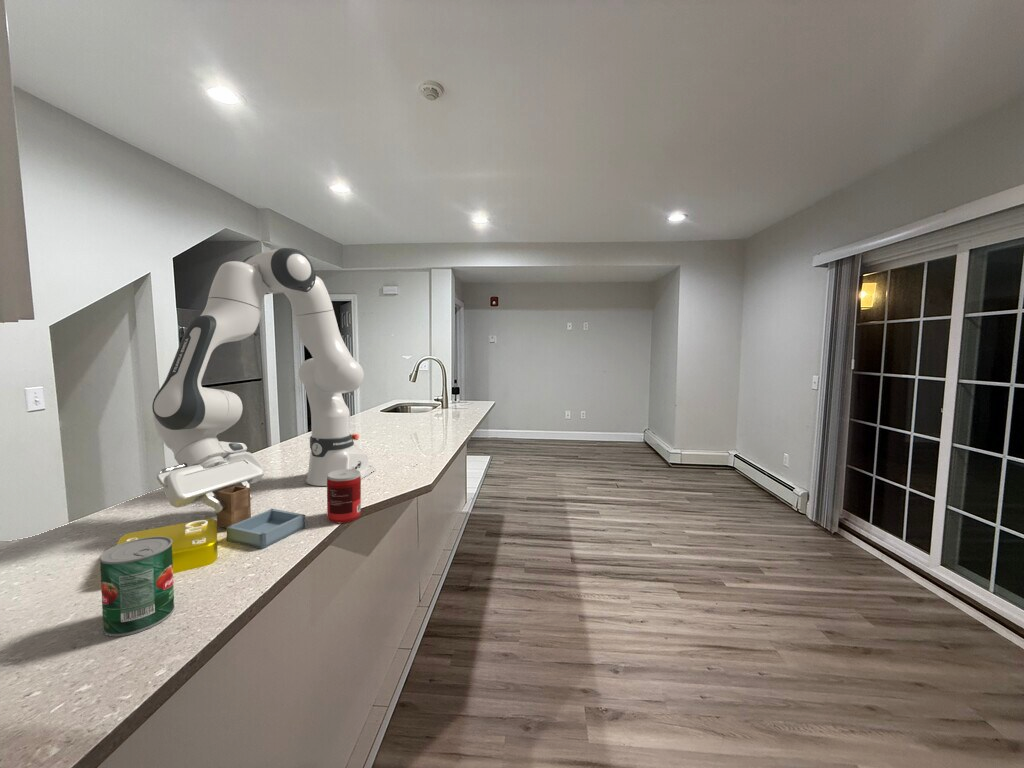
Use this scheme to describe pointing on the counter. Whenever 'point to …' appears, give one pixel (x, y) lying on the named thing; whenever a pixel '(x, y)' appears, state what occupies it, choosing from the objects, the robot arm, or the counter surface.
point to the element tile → (185, 542)
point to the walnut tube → (234, 505)
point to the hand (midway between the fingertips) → (235, 505)
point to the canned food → (343, 495)
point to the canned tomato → (137, 585)
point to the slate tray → (266, 528)
